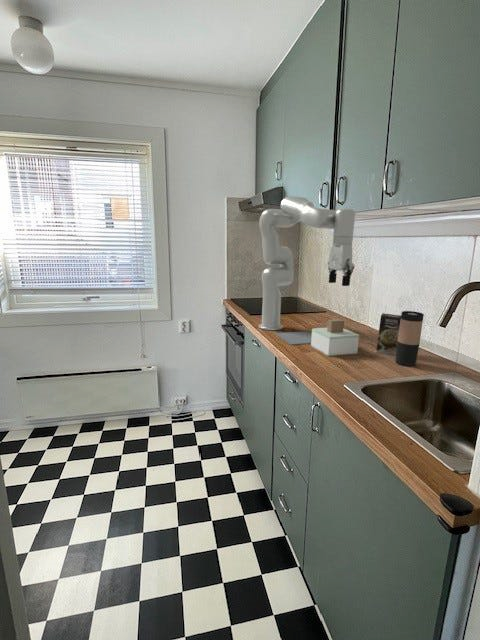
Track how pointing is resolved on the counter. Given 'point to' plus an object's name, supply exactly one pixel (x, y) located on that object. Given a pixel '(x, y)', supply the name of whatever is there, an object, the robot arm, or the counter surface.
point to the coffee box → (388, 334)
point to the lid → (335, 330)
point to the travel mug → (409, 338)
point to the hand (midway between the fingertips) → (338, 284)
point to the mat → (296, 337)
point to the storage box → (334, 345)
